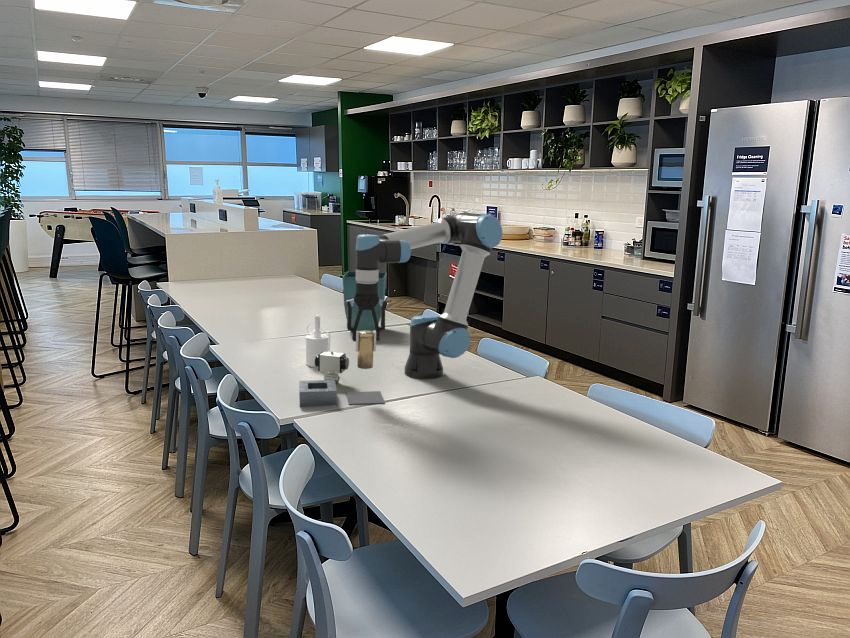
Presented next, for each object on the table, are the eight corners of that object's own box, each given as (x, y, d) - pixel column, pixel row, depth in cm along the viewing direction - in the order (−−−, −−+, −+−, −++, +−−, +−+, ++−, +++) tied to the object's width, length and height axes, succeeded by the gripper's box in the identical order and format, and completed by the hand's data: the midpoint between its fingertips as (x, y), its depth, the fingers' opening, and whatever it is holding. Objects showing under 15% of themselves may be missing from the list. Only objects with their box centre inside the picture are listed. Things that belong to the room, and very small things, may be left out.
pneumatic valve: (344, 386, 228) (345, 354, 226) (314, 383, 231) (314, 351, 228) (349, 381, 234) (350, 350, 231) (319, 378, 236) (319, 347, 234)
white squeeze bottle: (313, 368, 249) (313, 318, 244) (301, 363, 255) (300, 314, 251) (335, 364, 255) (336, 316, 251) (323, 359, 262) (323, 312, 258)
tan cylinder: (371, 364, 217) (372, 330, 214) (373, 368, 212) (374, 333, 209) (356, 364, 216) (357, 330, 213) (358, 369, 211) (358, 334, 208)
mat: (380, 392, 223) (380, 391, 223) (384, 403, 212) (384, 402, 211) (346, 393, 221) (346, 392, 221) (348, 404, 209) (348, 403, 209)
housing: (334, 393, 220) (334, 379, 219) (336, 405, 208) (336, 390, 207) (299, 394, 217) (299, 380, 216) (299, 406, 206) (299, 392, 205)
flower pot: (382, 335, 307) (383, 277, 301) (341, 333, 307) (342, 276, 301) (385, 326, 327) (387, 272, 321) (347, 325, 327) (347, 270, 321)
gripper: (392, 280, 213) (390, 347, 218) (338, 280, 210) (337, 347, 214) (396, 283, 206) (394, 352, 211) (339, 283, 202) (339, 353, 207)
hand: (365, 350), depth 213 cm, fingers closed on tan cylinder, 5 cm apart
